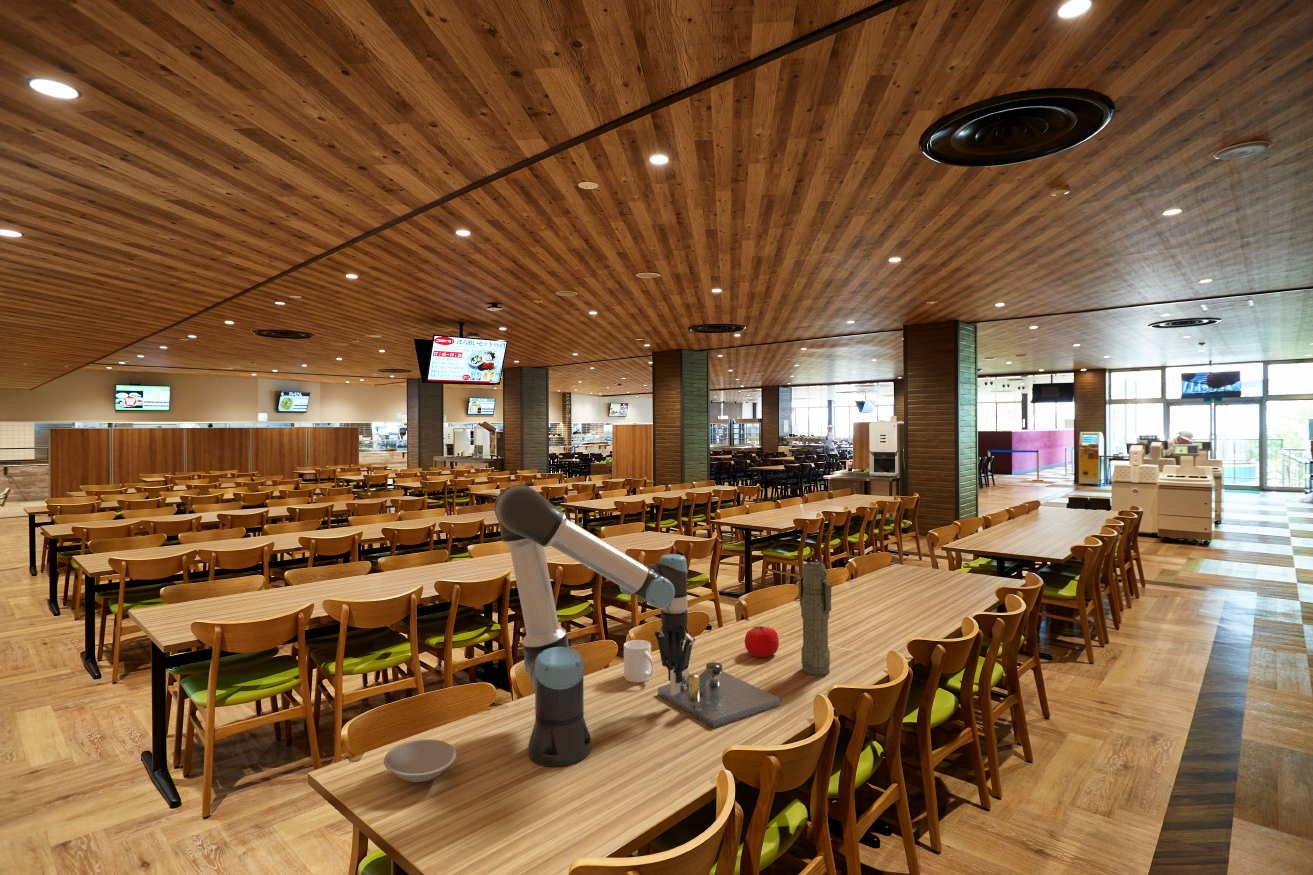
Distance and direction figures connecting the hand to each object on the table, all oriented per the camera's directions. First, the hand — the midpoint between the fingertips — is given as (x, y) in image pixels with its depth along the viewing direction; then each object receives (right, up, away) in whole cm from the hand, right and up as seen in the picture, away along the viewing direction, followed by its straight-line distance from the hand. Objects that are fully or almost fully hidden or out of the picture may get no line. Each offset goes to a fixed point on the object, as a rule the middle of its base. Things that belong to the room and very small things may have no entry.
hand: (675, 692), depth 175 cm
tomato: (+31, -4, +40) cm, 51 cm away
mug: (-10, -4, +19) cm, 22 cm away
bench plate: (+12, -4, +4) cm, 13 cm away
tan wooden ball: (+5, -2, +7) cm, 9 cm away
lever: (+9, 0, +3) cm, 9 cm away
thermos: (+46, -3, +25) cm, 53 cm away
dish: (-58, -5, -36) cm, 69 cm away
